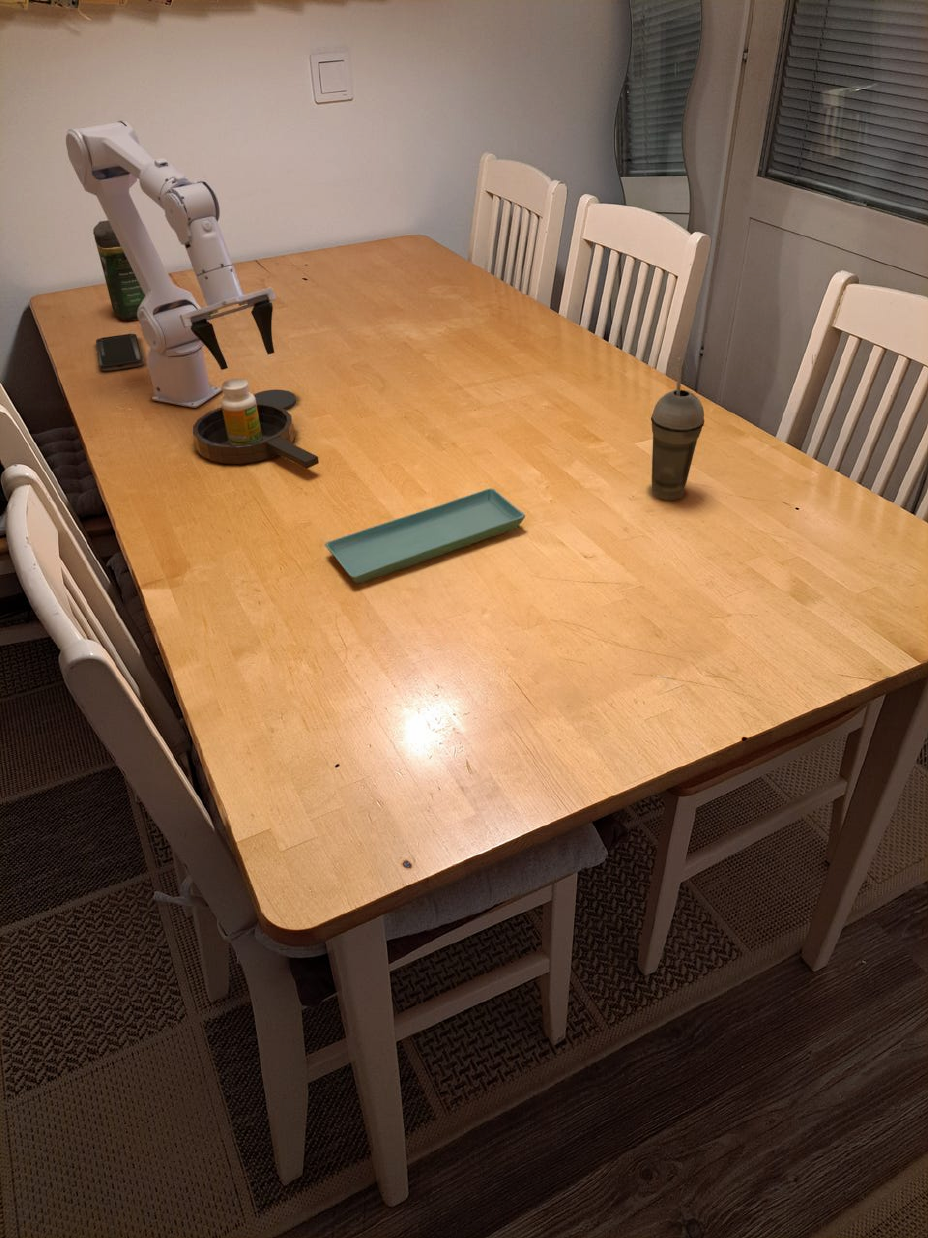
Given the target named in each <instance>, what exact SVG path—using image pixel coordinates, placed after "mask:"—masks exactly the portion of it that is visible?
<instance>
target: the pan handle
mask: <svg viewBox="0 0 928 1238" xmlns="http://www.w3.org/2000/svg"><path fill="white" fill-rule="evenodd" d="M266 445H267V449H269V450H271V451H273V452H274V453H276V454H278V455H279V456H281V457H282V458H284V459H287V460H288V461H289V462H292V463H294V464H296V465H297V466H300V467H302V468H304V469H306V470H308V469H310V468H312V467H314V466H316V465H319V463H320V462H319V456H318V455H315V454H313V453H312V452H310V451H308V450H306V449H305V448H302V447H299V446H298V445H296V444H294V443H293V442H292V443H290V442H288V441H286V440H284V439H282V438H280V437H277V438H274V439H272V440H270V441H268V442H266Z"/></svg>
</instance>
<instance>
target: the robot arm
mask: <svg viewBox="0 0 928 1238" xmlns="http://www.w3.org/2000/svg"><path fill="white" fill-rule="evenodd" d="M65 146H66V150H67V156H68V159H69V162H70V164H71V165H72V168H73V170H74V172H75V173H76V176H77V178H78V181H79V182H80V184H81V185H82V187H83V189H84V191H85V192H87V193H88V194H91V195H94V196H96V199H97V200H98V202H99V204H100V206H101V208H102V210H103V212H104V214H105V217H106V219H107V220H108V221H109V223H110V225H111V227H112V229H113V231H114V233H115V235H116V237H117V239H118V241H119V243H120V245H121V247H122V249H123V251H124V253H125V255H126V257H127V259H128V261H129V263H130V265H131V268H132V270H133V272H134V274H135V276H136V278H137V280H138V282H139V284H140V286H141V288H142V290H143V292H144V294H145V298H144V299H143V301H142V303H141V305H140V306H139V308H138V312H137V317H138V320H137V321H138V322H139V324H140V328H141V332H142V336H143V338H144V340H145V343H146V344H147V345H148V347H149V351H148V354H147V359H146V365H147V369H148V373H149V378H150V381H151V385H152V390H153V393H154V395H153V396H152V397H151V399H152V401H154V402H155V401H156V402H160V403H167V404H170V405H171V404H172V405H176V406H182V407H187V408H193V409H197V408H199V407H200V406H201V405H203V404H204V403H206V402H208V401H209V400H210V399H212V398H213V397H214V396H216V395H217V394H219V393H220V392H222V388H221V387H219V386H213V385H210V380H209V375H208V370H207V364H206V359H205V356H204V351H203V347H204V346H205V347H206V348H207V350H208V351H209V352H210V354H211V355H212V356H213V358H214V359H215V361H216V363H217V364H218V366H219V368H220V370H221V371H222V370H225V369H227V370H228V369H229V367H228V364H227V360H226V359H225V356H224V354H223V352H222V350H221V347H220V345H219V342H218V337H217V336H216V335H217V334H216V332H215V329H214V325H213V323H211V322H210V321H211V320H214V319H217V318H221V317H224V316H228V315H231V314H234V313H237V312H241V311H244V310H247V309H250V308H251V311H250V312H251V315H252V317H253V320H254V322H255V324H256V326H257V329H258V331H259V334H260V337H261V340H262V344H263V346H264V350H265V352H266V354H267V355H272V354H275V349H274V343H273V330H272V329H273V328H272V326H273V325H272V322H273V310H274V306H273V305H274V304H273V301H276V300H277V297H276V295H275V293H274V292H275V291H274V289H273V287H272V286H270V287H267V288H263V289H260V290H256V291H253V292H250V293H246V294H244V292H243V289H242V286H241V283H240V281H239V277H238V276H237V272H236V270H235V267H234V265H233V261H232V259H231V255H230V253H229V250H228V248H227V245H226V242H225V239H224V237H223V234H222V233H223V232H222V230H221V228H220V225H219V223H218V221H219V220H220V216H221V209H220V203H219V199H218V197H217V194H216V192H215V190H214V189H213V187H212V185H210V184H209V183H208V181H206V180H198V181H196V180H194V181H191V180H190V179H189V178H188V177H186V176H185V175H184V174H183V173H182V172H181V171H180V170H177V168H175V167H174V165H172V164H170V163H169V162H168V160H167V159H165V158H164V157H160V158H153V157H152V156H151V155H150V154H149V153H148V152H146V150H145V149H144V148H143V147H142V146H141V145H140V141H139V138H138V135H137V132H136V131H135V128H134V127H132V125H130V123H129V122H127V121H126V120H118V121H117V122H111V123H104V124H99V125H93V126H86V127H79V128H75V127H74V128H69V129H68V130H67V132H66V136H65ZM137 182H138V183H139V187H140V189H141V190H142V192H143V193H144V194H145V195H146V196H147V197H148V198H149V199H150V200H152V201H153V202H154V203H155V204H156V205H158V206H159V207H160V208H161V209H162V210H163V211H164V216H165V219H166V221H167V223H168V225H169V226H170V228H171V229H172V230H173V231H174V233H175V235H176V237H177V240H178V242H179V243H180V245H183V246H184V248H185V251H186V253H187V256H188V258H189V261H190V263H191V264H190V265H191V266H192V269H193V272H194V275H195V276H196V279H197V282H198V285H199V288H200V290H201V293H202V295H203V299H204V301H205V303H206V306H203V307H201V306H200V305H199V303H198V302H197V300H196V299H195V296H194V295H193V294H192V292H190V291H189V290H186V289H184V288H181V287H178V286H177V285H175V284H173V281H172V280H171V277H170V275H169V273H168V271H167V269H166V267H165V265H164V263H163V260H162V259H161V257H160V254H159V253H158V250H157V249H156V246H155V244H154V241H153V239H152V238H151V235H150V233H149V231H148V230H147V228H146V226H145V224H144V222H143V221H144V220H143V219H142V217H141V215H140V213H139V211H138V209H137V207H136V205H135V203H134V201H133V199H132V196H131V195H130V189H131V188H132V187H133V186H134V185H135V184H136V183H137ZM235 305H238V306H239V307H236V308H233V309H229V310H226V311H222V312H219V310H222V309H225V308H226V309H227V308H228V307H231V306H235Z"/></svg>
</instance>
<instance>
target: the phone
mask: <svg viewBox="0 0 928 1238" xmlns="http://www.w3.org/2000/svg"><path fill="white" fill-rule="evenodd" d="M95 343H96V351H97V357H98V364H99V369H100V371H101V372H105V373H107V372H111V371H112V372H113V371H118V370H119V371H120V370H126V369H132V368H138V367H141V366H143V365H144V360H143V357H142V352H141V348H140V343H139V340H138V336H137V333H126V334H118V335H111V336H104V337H99V338H97V339H96V340H95Z"/></svg>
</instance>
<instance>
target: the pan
mask: <svg viewBox="0 0 928 1238" xmlns="http://www.w3.org/2000/svg"><path fill="white" fill-rule="evenodd" d="M256 404H257V410H258V415H259V421H260V427H261V433H262V439H261V441H257V442H254V443H248V444H240V445H232V444H230V442H229V440H228V436H227V430H226V425H225V420H224V415H223V411H222V406H221V407H218V408H216V409H213V410H211V411H209V412H206V413H205V414H203V415H202V416H200V417H198V419H197V420H196V421H195V422H194V424H193V425H192V436H193V440H194V444H195V445H194V446H195V449H196V451H197V452H198V453H199V455H200V456H201V457H203V458H205V459H207V460H209V461H212V462H215V463H220V464H225V465H243V464H244V465H246V464H247V465H248V464H252V463H259V462H263V461H265V460H268V459H269V460H270V459H272V458H273V457H276V456H277V455H278V454H276V453H274V452H273V451H271V450H269V449H267V445H266V442H268V441H270V440H272V439H274V438H277V437H280V438H282V439H284V440H286V441H288V442H290V443H292V444H293V442H294V439H295V431H294V424H293V418H292V414H290V412H289V411H287V410H285V409H283V408H281V407H279V406H276V405H271V404H266V403H256Z"/></svg>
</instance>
